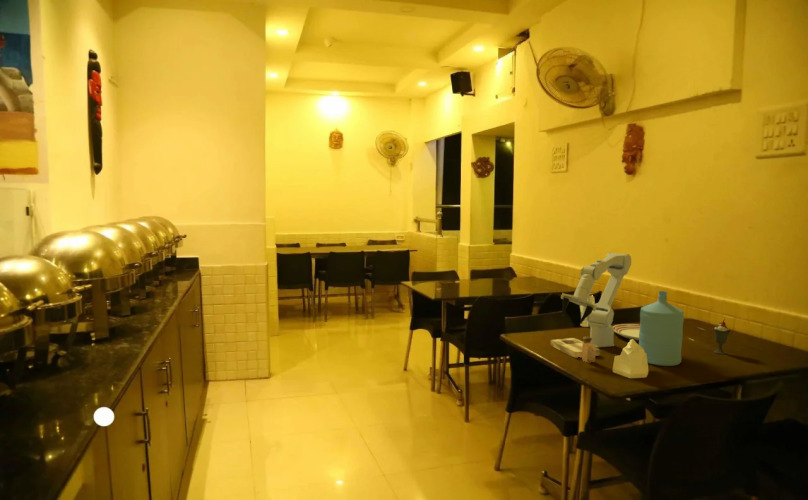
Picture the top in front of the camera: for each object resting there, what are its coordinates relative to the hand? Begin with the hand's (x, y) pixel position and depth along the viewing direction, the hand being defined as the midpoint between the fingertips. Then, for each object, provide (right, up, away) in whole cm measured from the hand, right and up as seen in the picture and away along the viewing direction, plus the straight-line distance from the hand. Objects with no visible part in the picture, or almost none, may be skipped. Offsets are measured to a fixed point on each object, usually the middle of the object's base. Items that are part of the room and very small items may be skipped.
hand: (571, 319), depth 212 cm
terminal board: (+4, -15, +10) cm, 18 cm away
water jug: (+34, -16, -3) cm, 38 cm away
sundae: (+65, -15, +6) cm, 67 cm away
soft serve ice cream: (+17, -18, -17) cm, 31 cm away
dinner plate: (+43, -13, +30) cm, 54 cm away
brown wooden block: (+5, -16, -4) cm, 18 cm away
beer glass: (+24, -10, +50) cm, 57 cm away
